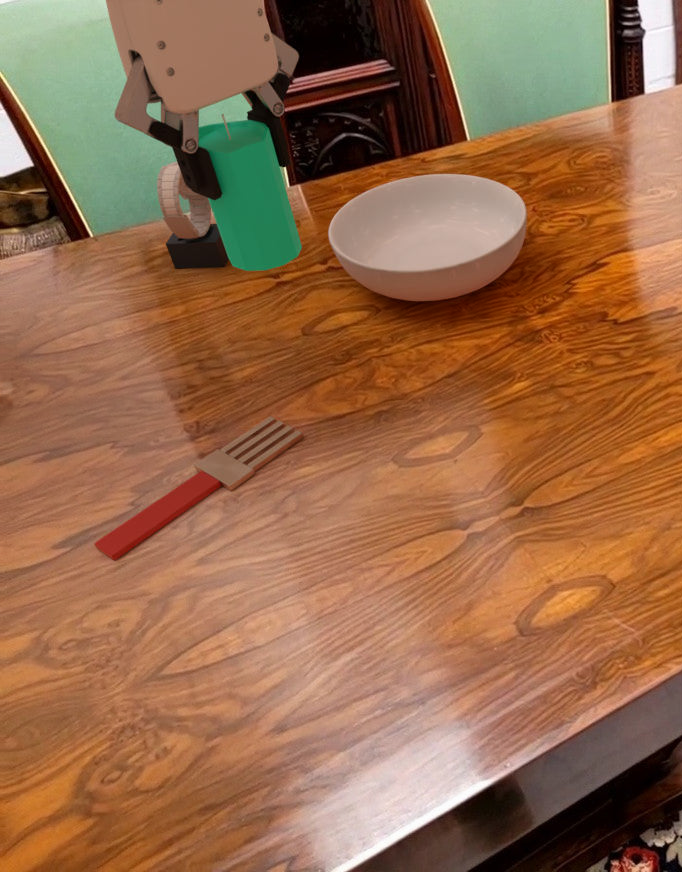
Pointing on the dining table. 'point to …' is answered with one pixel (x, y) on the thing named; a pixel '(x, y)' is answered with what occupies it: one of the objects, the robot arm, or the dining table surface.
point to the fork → (205, 482)
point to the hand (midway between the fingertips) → (241, 176)
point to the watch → (189, 223)
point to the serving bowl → (429, 235)
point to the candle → (250, 196)
